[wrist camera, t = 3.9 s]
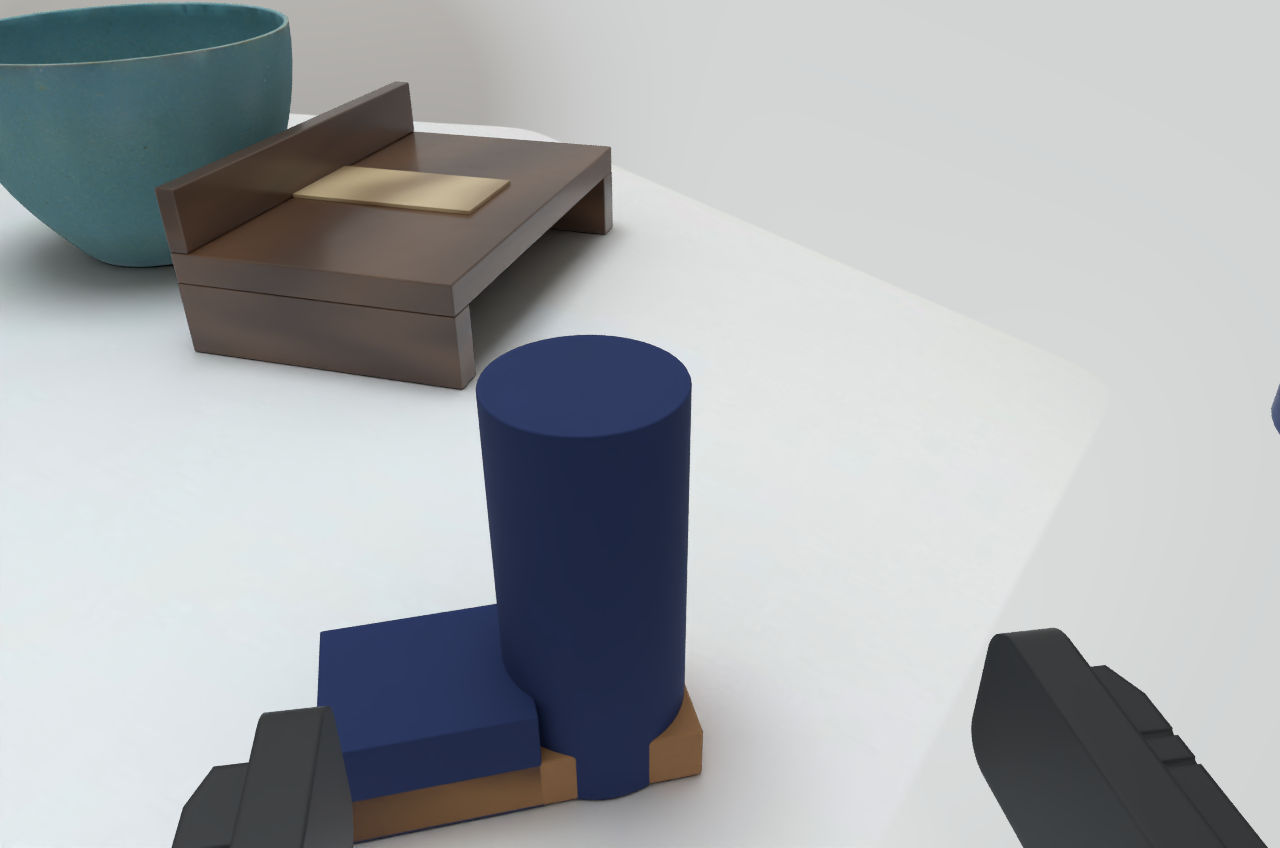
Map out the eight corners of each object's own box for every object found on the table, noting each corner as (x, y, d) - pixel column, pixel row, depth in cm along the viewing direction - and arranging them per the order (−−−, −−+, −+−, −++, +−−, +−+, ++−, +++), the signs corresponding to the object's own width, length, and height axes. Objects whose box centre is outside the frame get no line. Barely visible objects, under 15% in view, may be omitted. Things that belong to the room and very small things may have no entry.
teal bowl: (220, 317, 52) (161, 67, 46) (-83, 289, 55) (-176, 53, 49) (372, 204, 67) (344, 6, 61) (128, 188, 71) (77, -2, 64)
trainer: (659, 655, 31) (661, 325, 25) (704, 780, 27) (719, 420, 21) (338, 711, 29) (264, 368, 23) (336, 855, 25) (245, 481, 19)
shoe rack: (613, 226, 63) (610, 95, 59) (462, 389, 45) (443, 216, 41) (409, 206, 67) (394, 81, 63) (194, 351, 49) (152, 187, 45)
